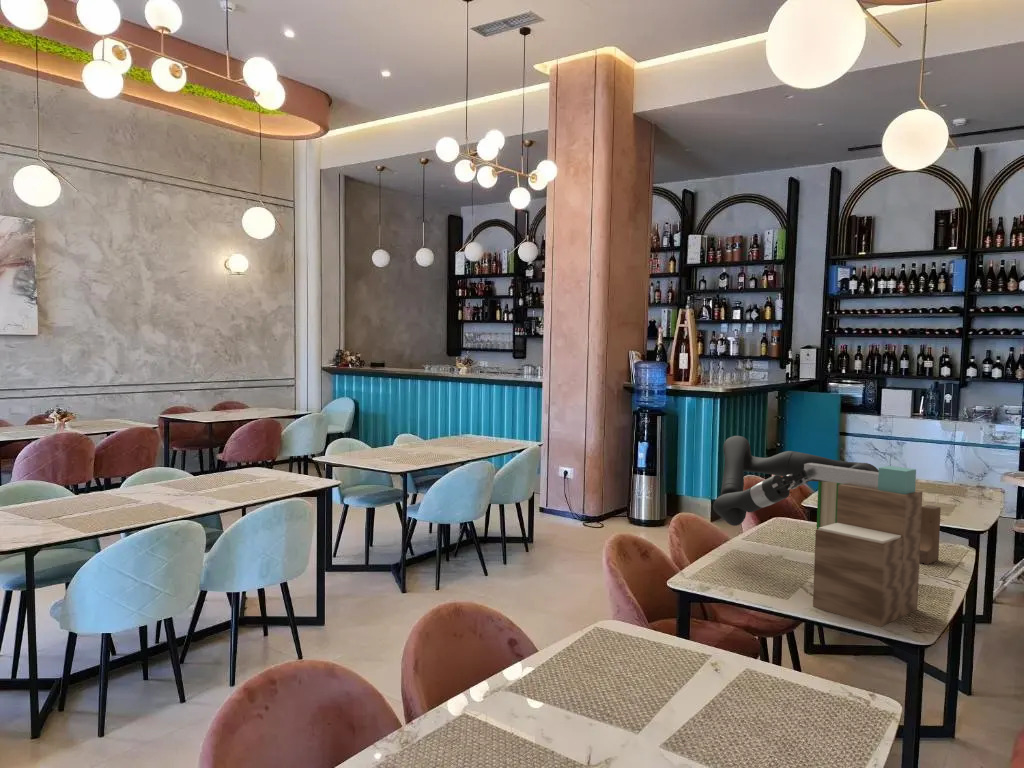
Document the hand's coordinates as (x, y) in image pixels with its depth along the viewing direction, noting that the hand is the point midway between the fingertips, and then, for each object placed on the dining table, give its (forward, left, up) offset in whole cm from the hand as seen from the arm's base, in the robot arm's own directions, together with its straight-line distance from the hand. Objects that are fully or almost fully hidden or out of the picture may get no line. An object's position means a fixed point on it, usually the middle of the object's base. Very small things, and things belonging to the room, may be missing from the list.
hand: (813, 471), depth 215 cm
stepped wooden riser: (+12, +16, -34) cm, 39 cm away
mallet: (+4, +12, -2) cm, 13 cm away
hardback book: (-65, -2, -34) cm, 74 cm away
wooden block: (-50, +28, -34) cm, 67 cm away
